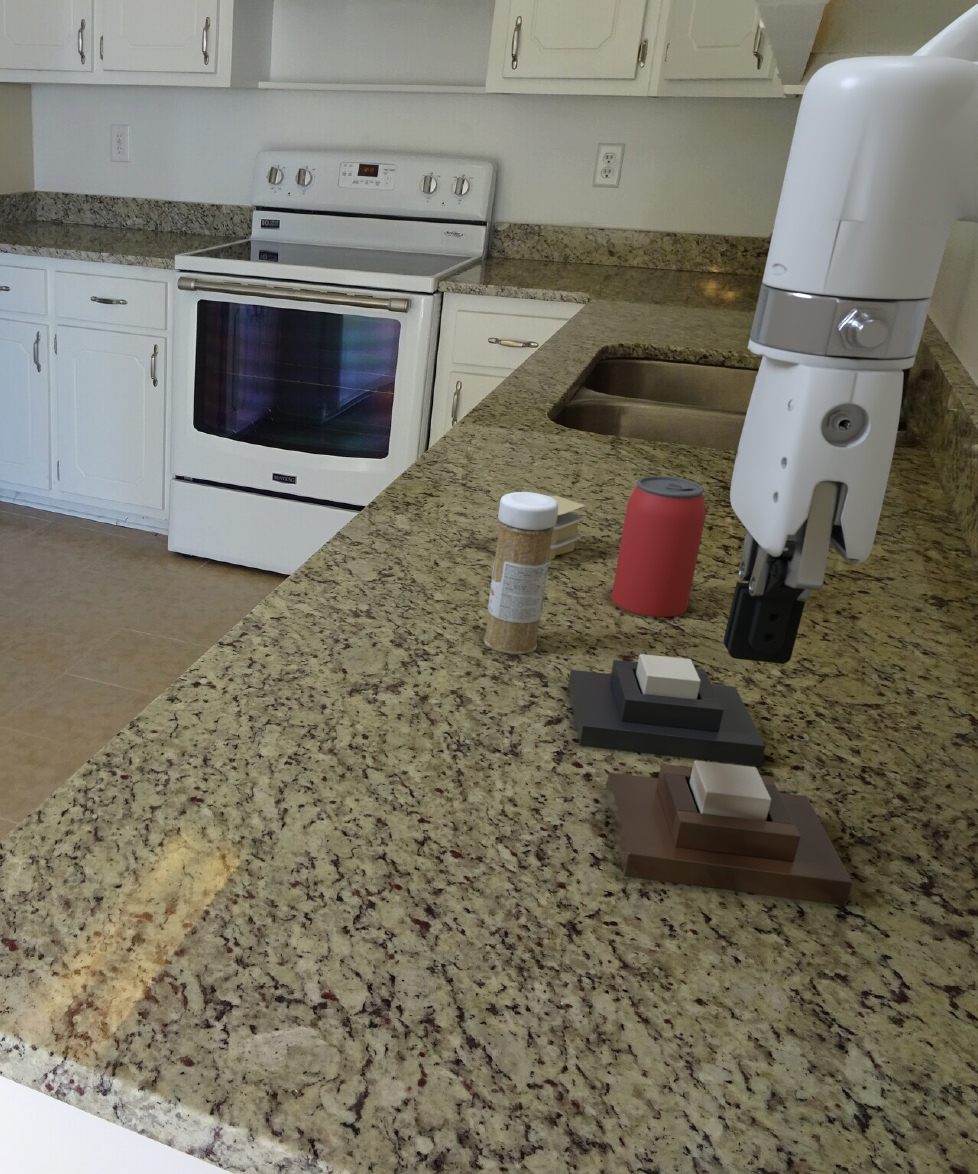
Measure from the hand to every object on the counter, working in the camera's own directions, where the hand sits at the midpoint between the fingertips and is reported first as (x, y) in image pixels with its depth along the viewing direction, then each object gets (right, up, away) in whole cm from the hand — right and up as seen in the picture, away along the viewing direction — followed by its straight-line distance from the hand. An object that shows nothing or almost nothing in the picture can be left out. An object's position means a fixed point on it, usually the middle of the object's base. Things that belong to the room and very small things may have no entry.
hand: (755, 654), depth 63 cm
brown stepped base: (0, -13, +5) cm, 14 cm away
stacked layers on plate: (+4, +7, +53) cm, 53 cm away
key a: (0, -9, +4) cm, 10 cm away
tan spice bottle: (-5, -2, +32) cm, 32 cm away
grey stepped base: (+2, -7, +19) cm, 20 cm away
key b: (+2, -3, +18) cm, 18 cm away
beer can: (+10, +2, +40) cm, 42 cm away
